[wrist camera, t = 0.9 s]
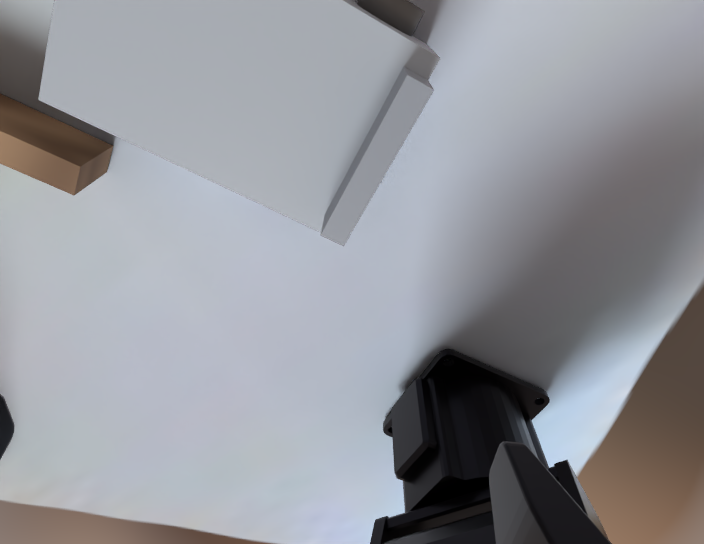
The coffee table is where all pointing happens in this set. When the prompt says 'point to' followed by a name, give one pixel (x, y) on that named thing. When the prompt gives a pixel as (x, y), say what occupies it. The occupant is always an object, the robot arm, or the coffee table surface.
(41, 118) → the bay
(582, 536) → the robot arm
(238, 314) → the coffee table surface
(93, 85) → the white block with knob
